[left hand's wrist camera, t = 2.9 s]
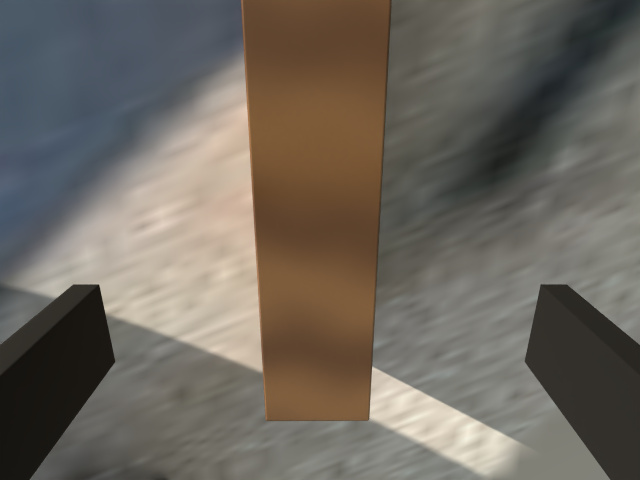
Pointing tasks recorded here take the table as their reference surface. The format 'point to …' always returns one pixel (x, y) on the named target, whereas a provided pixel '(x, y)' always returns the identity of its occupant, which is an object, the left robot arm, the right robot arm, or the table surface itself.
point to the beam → (316, 197)
